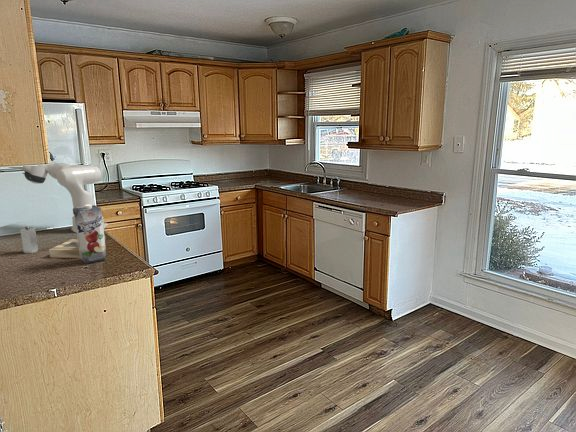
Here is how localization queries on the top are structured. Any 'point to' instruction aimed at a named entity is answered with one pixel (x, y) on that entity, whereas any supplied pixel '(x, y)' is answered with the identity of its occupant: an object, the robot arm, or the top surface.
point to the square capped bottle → (29, 240)
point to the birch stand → (66, 250)
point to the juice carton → (90, 233)
